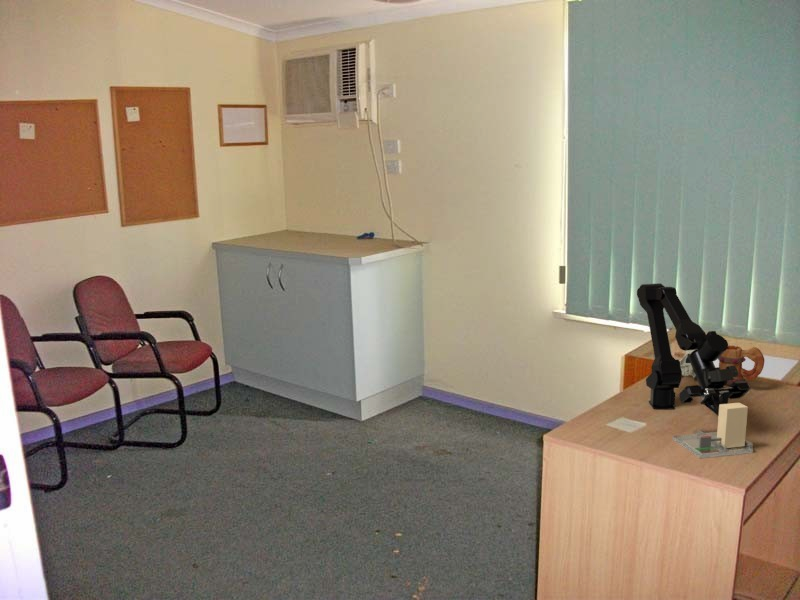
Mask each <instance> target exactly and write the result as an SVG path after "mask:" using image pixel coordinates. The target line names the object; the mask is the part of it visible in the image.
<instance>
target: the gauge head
mask: <svg viewBox="0 0 800 600" xmlns="http://www.w3.org/2000/svg"><path fill="white" fill-rule="evenodd" d="M748 409H749V407H748V406H747V405H745V404H743V403H741V402H732V403H728V404H720V405H719V416H717V417H718V418H717V429H716V432H717V438H711V442H712V441H718V442H720V443H721V444H723V445H725V446H726V448H731V447H741V446H745V440H746V433H747V420H748Z"/></svg>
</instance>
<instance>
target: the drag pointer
mask: <svg viewBox="0 0 800 600" xmlns="http://www.w3.org/2000/svg"><path fill="white" fill-rule="evenodd" d="M699 447H700V448H706V447H711V435H706V436H700V442H699Z"/></svg>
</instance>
